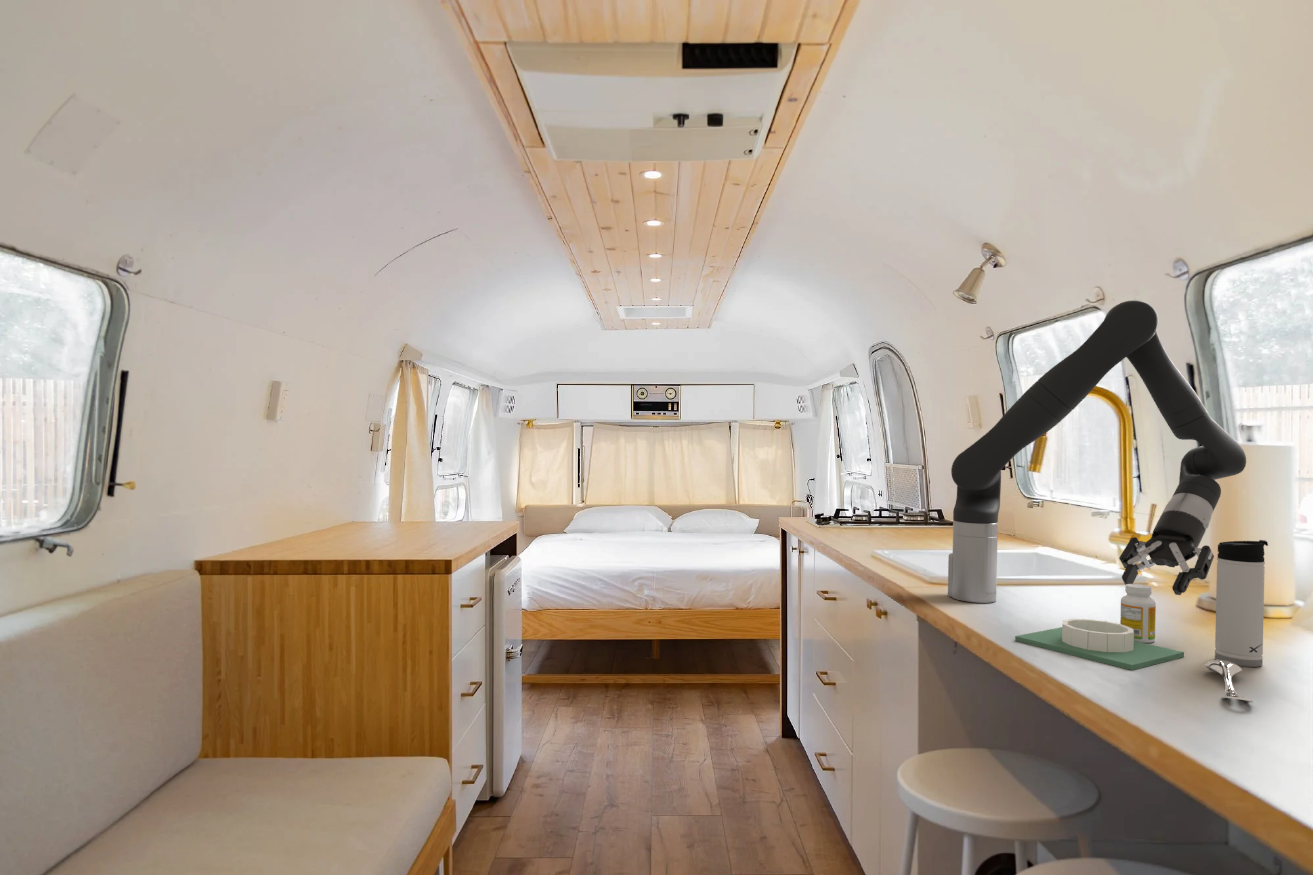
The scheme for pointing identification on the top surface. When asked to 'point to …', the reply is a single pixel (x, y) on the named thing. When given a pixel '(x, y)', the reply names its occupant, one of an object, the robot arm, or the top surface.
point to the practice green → (1100, 643)
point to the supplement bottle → (1139, 612)
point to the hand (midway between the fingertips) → (1150, 587)
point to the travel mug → (1240, 602)
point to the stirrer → (1226, 676)
